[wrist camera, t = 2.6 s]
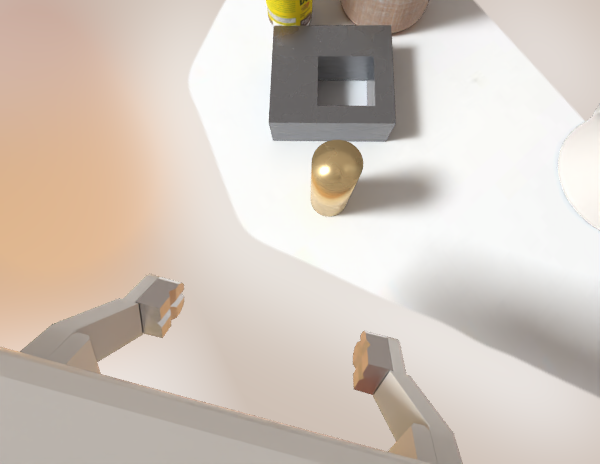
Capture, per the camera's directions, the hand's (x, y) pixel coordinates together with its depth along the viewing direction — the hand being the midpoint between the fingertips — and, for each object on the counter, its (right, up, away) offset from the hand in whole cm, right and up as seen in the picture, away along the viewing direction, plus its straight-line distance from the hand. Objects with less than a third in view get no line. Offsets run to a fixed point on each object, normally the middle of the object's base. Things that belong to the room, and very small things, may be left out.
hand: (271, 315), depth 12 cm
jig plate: (+5, +20, +20) cm, 29 cm away
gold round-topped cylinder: (+4, +7, +18) cm, 20 cm away
